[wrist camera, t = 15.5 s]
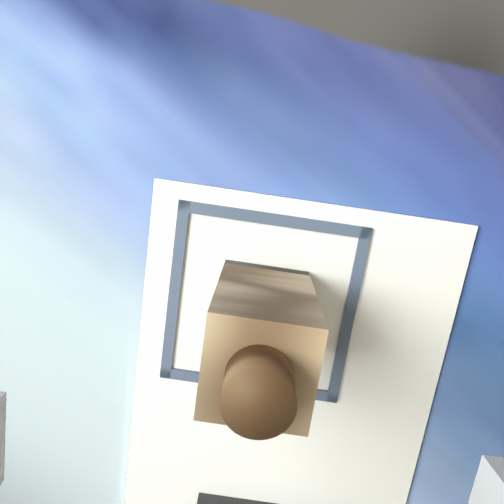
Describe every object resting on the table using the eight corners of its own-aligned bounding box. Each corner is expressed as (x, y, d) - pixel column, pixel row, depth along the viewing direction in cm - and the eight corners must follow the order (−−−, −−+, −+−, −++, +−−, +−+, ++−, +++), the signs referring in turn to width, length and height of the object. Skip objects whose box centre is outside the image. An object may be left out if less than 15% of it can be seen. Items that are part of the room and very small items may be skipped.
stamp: (215, 336, 25) (184, 454, 16) (225, 259, 24) (199, 333, 15) (294, 348, 25) (313, 473, 16) (308, 271, 24) (337, 354, 15)
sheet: (118, 575, 30) (115, 583, 29) (155, 178, 24) (153, 178, 23) (375, 612, 30) (376, 620, 29) (475, 225, 24) (480, 226, 23)
